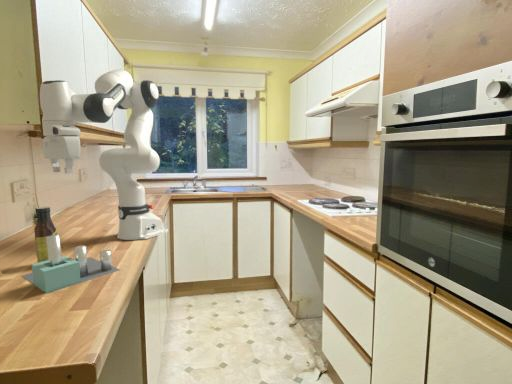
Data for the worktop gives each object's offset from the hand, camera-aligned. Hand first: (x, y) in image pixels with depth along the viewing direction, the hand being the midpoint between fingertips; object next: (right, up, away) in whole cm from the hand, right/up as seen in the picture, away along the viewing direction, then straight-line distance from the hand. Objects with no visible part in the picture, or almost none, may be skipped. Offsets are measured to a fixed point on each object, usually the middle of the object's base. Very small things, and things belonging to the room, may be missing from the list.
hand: (62, 172), depth 108 cm
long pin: (+8, -33, -15) cm, 37 cm away
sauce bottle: (-5, -32, +1) cm, 32 cm away
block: (+8, -33, -15) cm, 37 cm away
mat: (+7, -32, -8) cm, 34 cm away
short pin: (+17, -31, -5) cm, 36 cm away
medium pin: (+12, -32, -10) cm, 36 cm away
